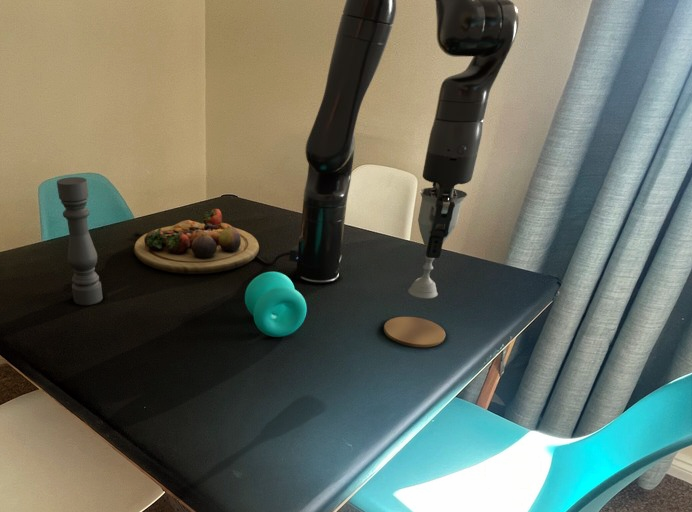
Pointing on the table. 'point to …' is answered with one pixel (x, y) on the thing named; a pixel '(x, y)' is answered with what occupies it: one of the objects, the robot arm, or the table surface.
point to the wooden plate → (197, 246)
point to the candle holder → (80, 241)
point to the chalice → (424, 284)
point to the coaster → (414, 331)
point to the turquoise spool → (275, 304)
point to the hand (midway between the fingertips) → (431, 250)
